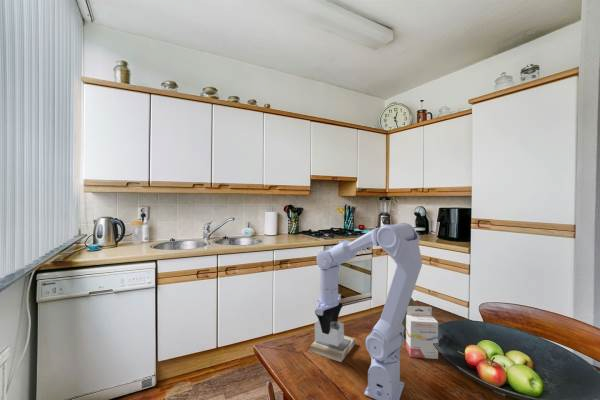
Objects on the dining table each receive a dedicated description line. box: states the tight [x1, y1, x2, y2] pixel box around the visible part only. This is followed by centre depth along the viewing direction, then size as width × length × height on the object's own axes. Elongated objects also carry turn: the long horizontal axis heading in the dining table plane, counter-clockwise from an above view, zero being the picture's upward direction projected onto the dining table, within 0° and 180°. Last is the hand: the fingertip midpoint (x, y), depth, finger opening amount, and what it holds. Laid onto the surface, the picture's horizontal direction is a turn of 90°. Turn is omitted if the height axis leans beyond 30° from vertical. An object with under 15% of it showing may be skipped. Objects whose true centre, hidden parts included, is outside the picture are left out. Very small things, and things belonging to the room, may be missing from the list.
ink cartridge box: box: [405, 305, 439, 360], centre depth 83 cm, size 9×5×15 cm, turn 84°
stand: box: [309, 334, 356, 363], centre depth 87 cm, size 12×11×2 cm
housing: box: [314, 319, 345, 346], centre depth 83 cm, size 5×8×6 cm, turn 58°
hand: (329, 329), depth 83 cm, fingers closed on housing, 5 cm apart
